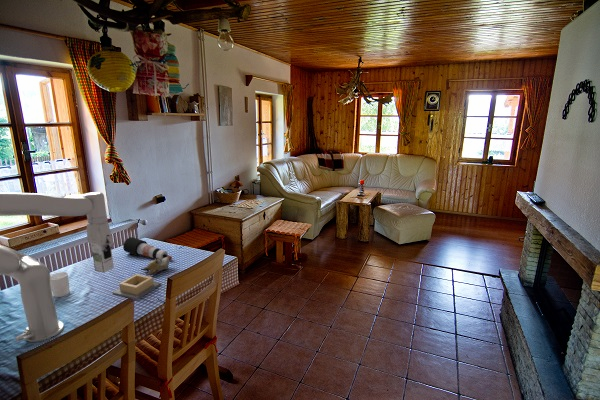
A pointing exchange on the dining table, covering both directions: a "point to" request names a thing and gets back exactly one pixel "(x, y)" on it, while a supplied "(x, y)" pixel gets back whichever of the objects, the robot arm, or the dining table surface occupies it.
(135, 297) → the socket
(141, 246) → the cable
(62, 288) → the white cup
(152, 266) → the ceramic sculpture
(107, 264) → the syrup box
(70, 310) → the dining table surface
